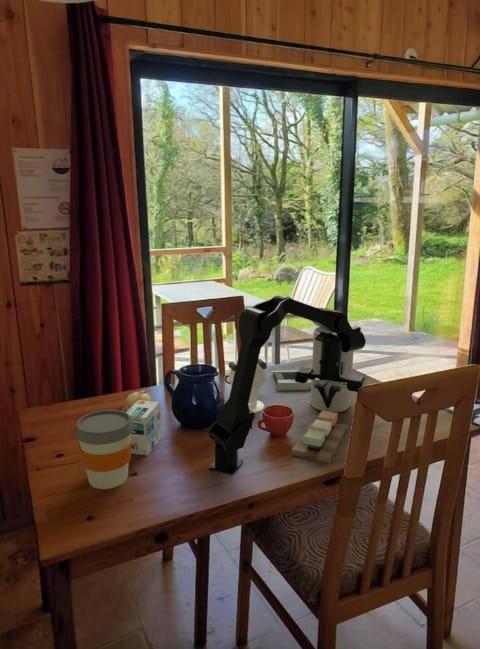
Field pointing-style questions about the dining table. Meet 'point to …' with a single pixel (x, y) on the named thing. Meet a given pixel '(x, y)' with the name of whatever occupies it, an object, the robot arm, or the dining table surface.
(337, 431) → the walnut panel
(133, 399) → the onion
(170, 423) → the dining table surface
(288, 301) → the robot arm
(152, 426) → the light bulb box
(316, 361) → the cylinder vase
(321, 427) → the white cube
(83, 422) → the reusable coffee cup
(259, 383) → the panda figurine
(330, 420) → the salmon tan cube
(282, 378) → the light grey tray
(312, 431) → the pale green cube
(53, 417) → the dining table surface
